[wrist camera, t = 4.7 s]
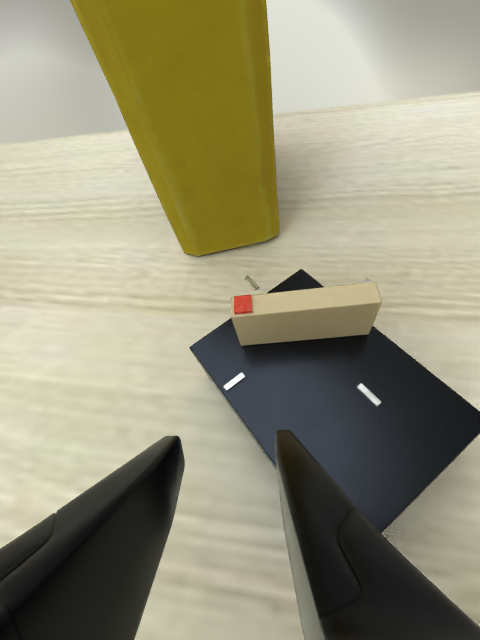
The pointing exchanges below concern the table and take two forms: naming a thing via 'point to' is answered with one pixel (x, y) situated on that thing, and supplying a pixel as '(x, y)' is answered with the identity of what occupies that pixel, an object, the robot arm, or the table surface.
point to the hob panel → (345, 408)
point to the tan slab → (305, 314)
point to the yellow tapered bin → (195, 110)
